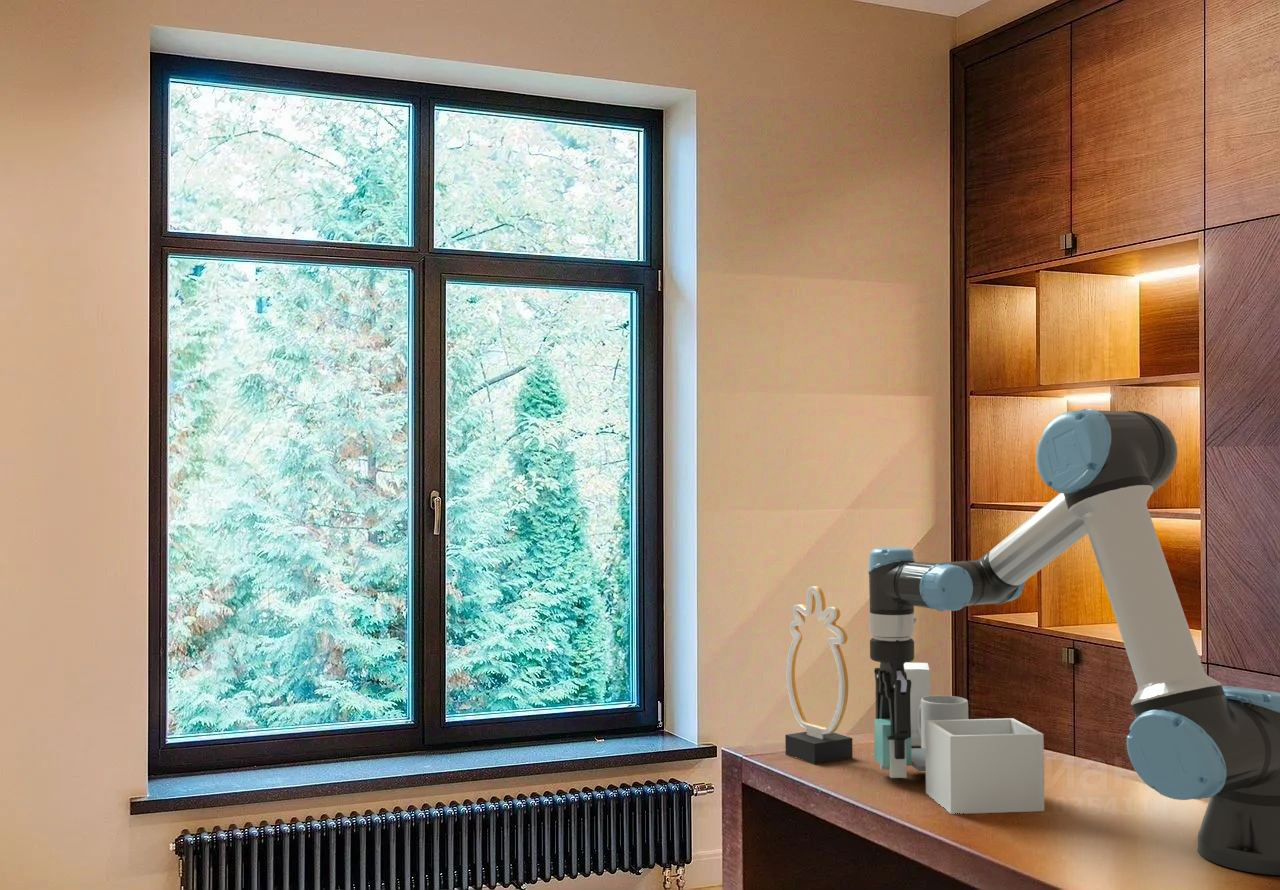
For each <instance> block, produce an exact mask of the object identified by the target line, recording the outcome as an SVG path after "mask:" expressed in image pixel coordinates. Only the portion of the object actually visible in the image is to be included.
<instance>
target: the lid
mask: <svg viewBox="0 0 1280 890" xmlns="http://www.w3.org/2000/svg"><path fill="white" fill-rule="evenodd" d="M873 724H874V725H873V726H874V727H873V730H874V732H873V734H874V736H873V738H874V741H873V742H874V745H873V746H874V749H873V750H874V761H876V762H877V763H878V764H879V765H880V764H881V765H882V766H890V747H889V740H888V738H887V736H891V724H890V719H876V718H874V719H873ZM907 766H912V768H914V769H916V771H918V772H926V748H921V747H920V748H918V747H917V748H915V747H914V748H912V746H911V737H910V738H907V739H906V767H907Z"/></svg>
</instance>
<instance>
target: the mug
mask: <svg viewBox="0 0 1280 890" xmlns="http://www.w3.org/2000/svg"><path fill="white" fill-rule="evenodd" d="M963 719H969V700H968V699H966V698H964V697H962V696H961V697H960V696H956V695H955V696H953V695H940V694H939V695H930V696H926V697H923V698H922V699H921V705H920V706H919V709H918V718H917V720H918V729H919V733H920V735H921V747H920V748H926V747H925V720H963Z"/></svg>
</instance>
